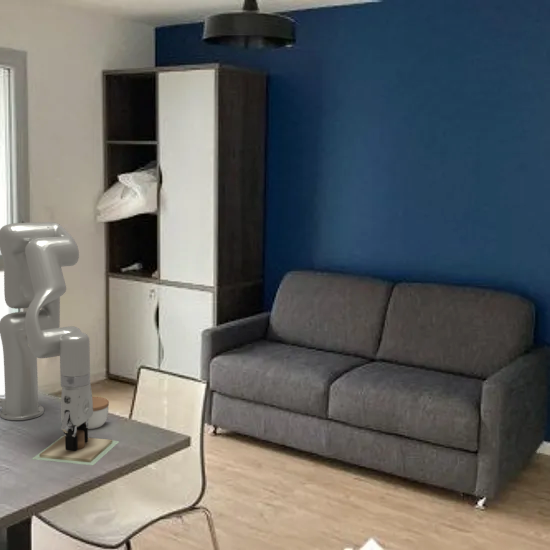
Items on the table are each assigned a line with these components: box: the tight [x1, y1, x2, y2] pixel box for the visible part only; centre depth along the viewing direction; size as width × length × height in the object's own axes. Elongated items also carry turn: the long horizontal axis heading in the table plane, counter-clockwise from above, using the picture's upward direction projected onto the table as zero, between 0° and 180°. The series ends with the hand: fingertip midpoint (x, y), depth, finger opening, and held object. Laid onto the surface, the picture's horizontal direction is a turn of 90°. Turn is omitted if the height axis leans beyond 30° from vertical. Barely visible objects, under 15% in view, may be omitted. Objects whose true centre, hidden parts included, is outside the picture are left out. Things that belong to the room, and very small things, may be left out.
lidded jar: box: [86, 396, 110, 430], centre depth 219 cm, size 11×11×9 cm
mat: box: [31, 435, 120, 466], centre depth 201 cm, size 17×17×1 cm
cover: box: [40, 430, 113, 462], centre depth 200 cm, size 14×14×5 cm
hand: (76, 445), depth 200 cm, fingers open, 5 cm apart
